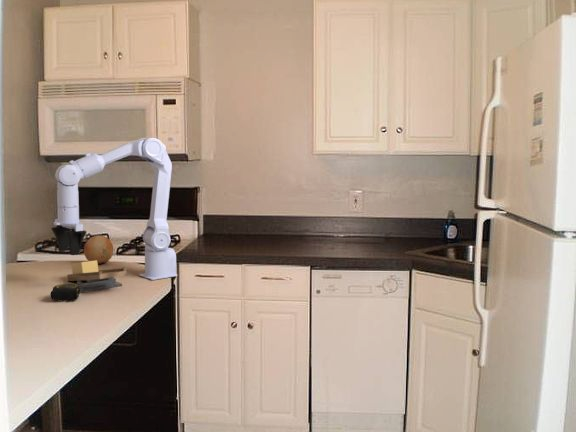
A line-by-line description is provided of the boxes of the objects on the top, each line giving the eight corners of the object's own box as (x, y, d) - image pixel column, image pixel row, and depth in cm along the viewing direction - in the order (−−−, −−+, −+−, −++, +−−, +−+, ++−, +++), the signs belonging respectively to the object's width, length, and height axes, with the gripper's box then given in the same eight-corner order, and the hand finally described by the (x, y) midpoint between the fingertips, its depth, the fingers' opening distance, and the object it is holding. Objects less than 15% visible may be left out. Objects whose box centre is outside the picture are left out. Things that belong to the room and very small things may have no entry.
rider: (88, 274, 166) (86, 261, 166) (98, 273, 161) (97, 260, 161) (72, 276, 163) (71, 263, 163) (83, 275, 157) (81, 262, 157)
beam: (93, 279, 167) (92, 271, 167) (127, 277, 151) (126, 267, 151) (68, 283, 161) (67, 274, 162) (100, 281, 146) (99, 271, 146)
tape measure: (49, 303, 139) (49, 289, 139) (56, 296, 146) (56, 283, 145) (76, 303, 140) (76, 289, 140) (82, 295, 147) (82, 282, 147)
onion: (96, 268, 179) (95, 239, 178) (78, 264, 185) (77, 235, 184) (119, 263, 187) (119, 235, 186) (101, 259, 193) (101, 232, 192)
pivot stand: (109, 280, 164) (109, 274, 164) (122, 285, 158) (122, 279, 158) (70, 286, 155) (70, 280, 155) (82, 292, 150) (82, 285, 149)
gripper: (44, 204, 156) (45, 250, 158) (64, 209, 146) (66, 258, 148) (67, 203, 161) (68, 247, 163) (89, 208, 151) (90, 255, 153)
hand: (69, 252), depth 156 cm, fingers open, 7 cm apart
